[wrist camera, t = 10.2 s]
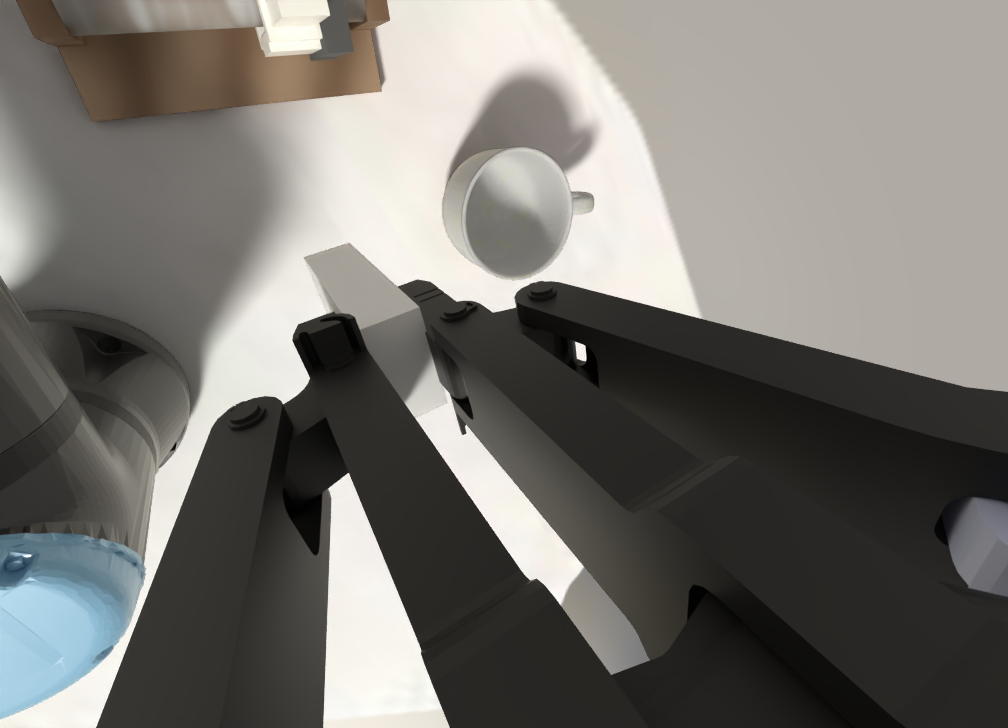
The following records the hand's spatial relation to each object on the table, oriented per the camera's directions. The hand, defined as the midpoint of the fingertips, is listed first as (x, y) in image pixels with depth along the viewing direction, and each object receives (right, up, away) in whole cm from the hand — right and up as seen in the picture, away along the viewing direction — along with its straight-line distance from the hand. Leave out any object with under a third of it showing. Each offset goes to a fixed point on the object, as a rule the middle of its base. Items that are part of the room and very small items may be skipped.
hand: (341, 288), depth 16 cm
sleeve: (-10, +21, +16) cm, 28 cm away
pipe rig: (-13, +21, +16) cm, 30 cm away
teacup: (+5, +13, +32) cm, 34 cm away
